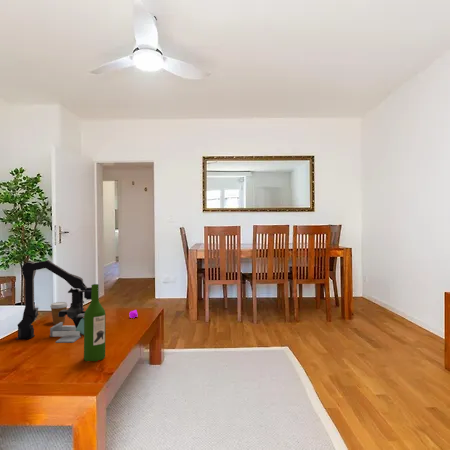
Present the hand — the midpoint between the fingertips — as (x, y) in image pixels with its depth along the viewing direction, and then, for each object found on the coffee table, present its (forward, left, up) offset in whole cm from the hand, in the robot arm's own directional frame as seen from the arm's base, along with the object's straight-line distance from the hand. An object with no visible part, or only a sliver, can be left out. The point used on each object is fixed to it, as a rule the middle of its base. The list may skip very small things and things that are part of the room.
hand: (77, 328), depth 188 cm
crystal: (+22, +33, -3) cm, 39 cm away
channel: (-4, 0, -2) cm, 4 cm away
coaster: (0, -11, -2) cm, 11 cm away
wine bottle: (+23, -36, -3) cm, 43 cm away
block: (+2, 0, -1) cm, 3 cm away
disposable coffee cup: (-20, +20, -3) cm, 28 cm away
